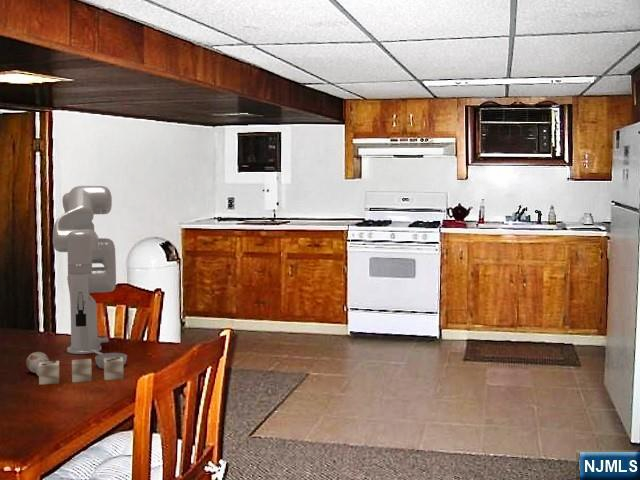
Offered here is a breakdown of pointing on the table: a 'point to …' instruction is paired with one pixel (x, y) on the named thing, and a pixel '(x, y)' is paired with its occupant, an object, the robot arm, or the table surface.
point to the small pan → (100, 358)
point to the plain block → (81, 370)
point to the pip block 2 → (113, 368)
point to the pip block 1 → (49, 372)
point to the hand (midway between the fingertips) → (81, 325)
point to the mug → (35, 361)
